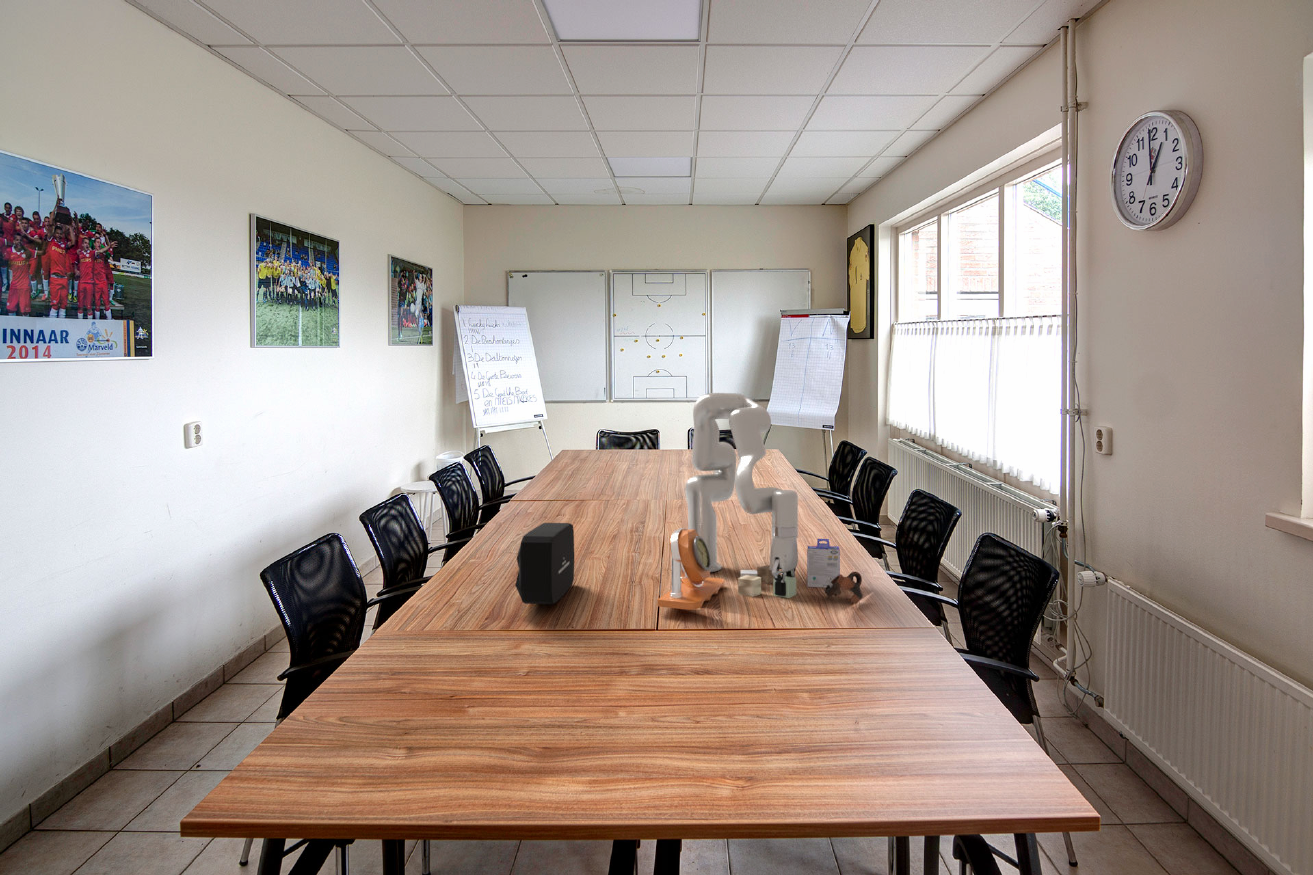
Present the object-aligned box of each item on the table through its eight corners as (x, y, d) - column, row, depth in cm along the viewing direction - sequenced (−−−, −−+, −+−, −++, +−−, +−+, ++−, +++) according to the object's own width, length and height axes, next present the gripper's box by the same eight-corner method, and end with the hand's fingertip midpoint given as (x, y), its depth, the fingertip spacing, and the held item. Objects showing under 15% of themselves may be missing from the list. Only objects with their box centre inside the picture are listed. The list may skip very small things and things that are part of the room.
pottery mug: (851, 612, 196) (830, 590, 197) (837, 616, 205) (816, 596, 206) (876, 581, 201) (854, 561, 202) (861, 587, 209) (840, 567, 211)
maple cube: (738, 594, 210) (738, 578, 210) (746, 591, 214) (746, 575, 214) (753, 597, 207) (753, 580, 207) (761, 593, 211) (761, 577, 211)
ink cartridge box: (839, 584, 222) (839, 538, 221) (840, 588, 216) (840, 541, 216) (807, 583, 224) (807, 537, 223) (807, 587, 218) (807, 540, 218)
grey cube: (741, 589, 216) (740, 573, 216) (740, 585, 221) (740, 569, 221) (757, 589, 216) (757, 573, 215) (756, 585, 221) (756, 570, 220)
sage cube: (773, 595, 208) (773, 578, 208) (780, 592, 213) (780, 575, 212) (788, 598, 206) (788, 581, 205) (796, 594, 210) (796, 577, 209)
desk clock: (655, 607, 196) (655, 535, 195) (689, 583, 224) (689, 520, 223) (697, 612, 191) (697, 538, 191) (727, 586, 219) (727, 522, 219)
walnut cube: (756, 582, 225) (757, 566, 225) (768, 580, 228) (768, 564, 228) (767, 585, 221) (767, 569, 221) (779, 583, 224) (779, 567, 224)
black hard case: (552, 609, 195) (551, 537, 194) (508, 608, 196) (507, 536, 196) (575, 582, 225) (574, 520, 224) (537, 582, 226) (536, 520, 226)
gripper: (785, 527, 217) (785, 585, 218) (759, 535, 204) (759, 597, 204) (808, 529, 213) (808, 589, 214) (783, 537, 199) (783, 601, 200)
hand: (784, 592), depth 209 cm, fingers closed on sage cube, 5 cm apart
